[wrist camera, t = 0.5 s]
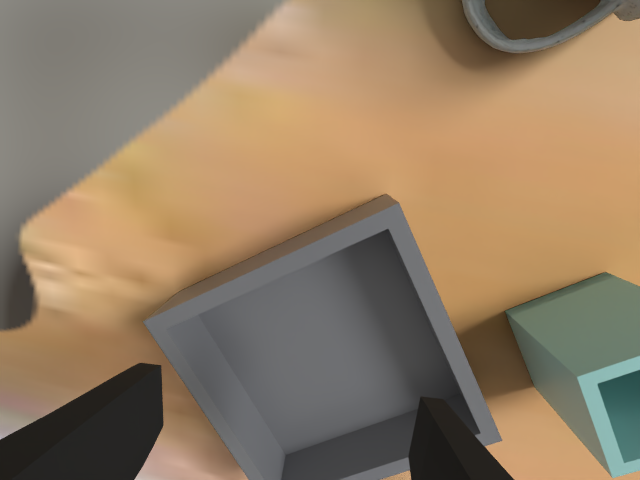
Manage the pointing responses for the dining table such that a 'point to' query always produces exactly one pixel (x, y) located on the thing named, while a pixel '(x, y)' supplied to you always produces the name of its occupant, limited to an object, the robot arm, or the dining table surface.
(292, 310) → the big crate
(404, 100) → the dining table surface
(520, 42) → the ceramic mug
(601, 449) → the small crate
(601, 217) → the dining table surface
